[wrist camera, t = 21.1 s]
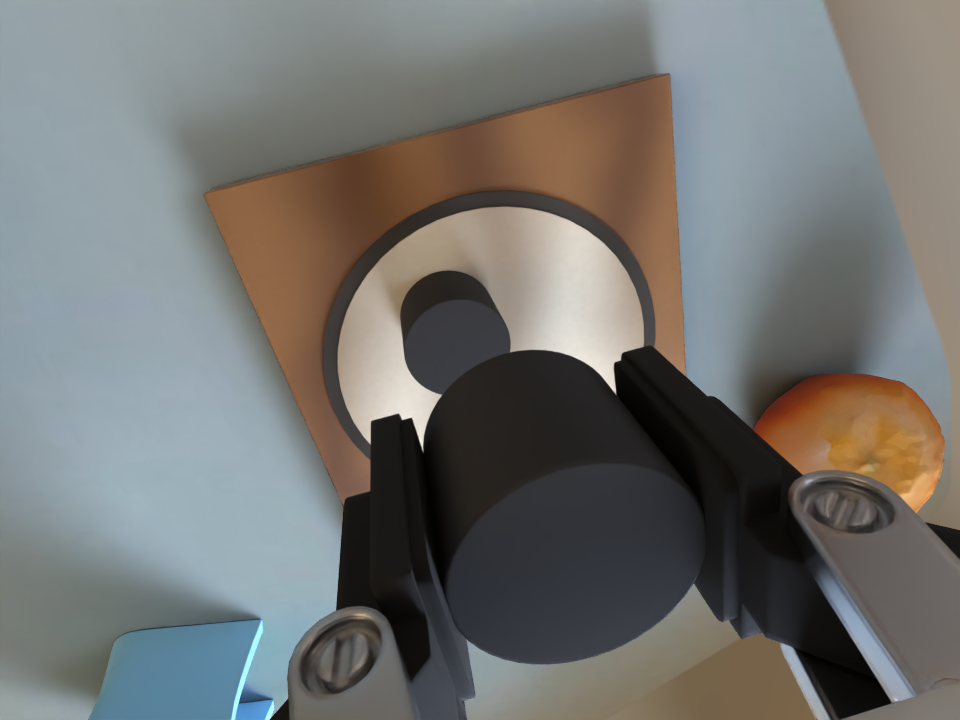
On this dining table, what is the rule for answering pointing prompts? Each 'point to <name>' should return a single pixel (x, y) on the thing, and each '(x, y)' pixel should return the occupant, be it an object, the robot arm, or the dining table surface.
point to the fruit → (858, 432)
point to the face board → (463, 251)
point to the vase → (182, 674)
